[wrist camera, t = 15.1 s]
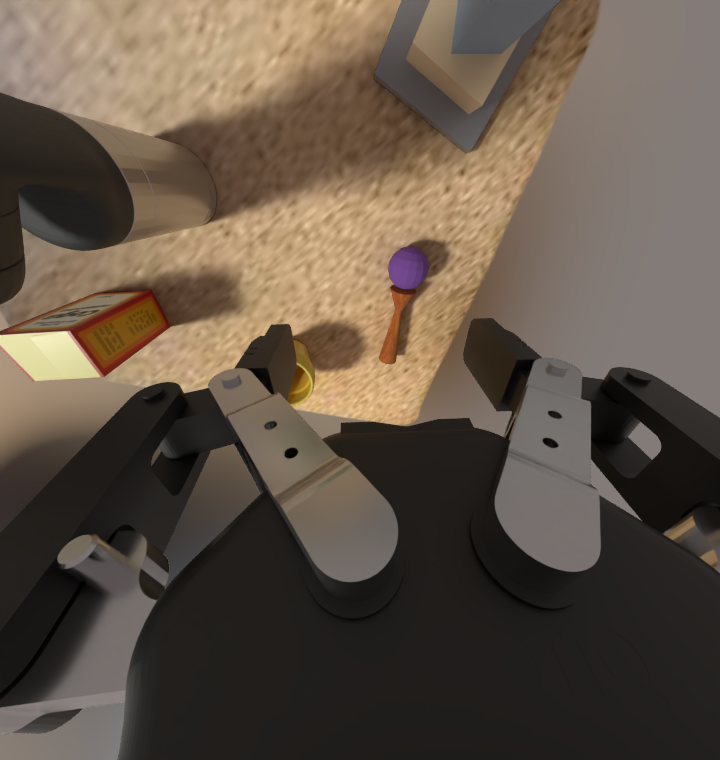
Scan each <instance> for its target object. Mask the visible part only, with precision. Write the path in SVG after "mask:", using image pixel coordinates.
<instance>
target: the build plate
mask: <svg viewBox="0 0 720 760" xmlns="http://www.w3.org/2000/svg"><path fill="white" fill-rule="evenodd" d="M457 3H458V0H402V1H401V4H400V6H399V9H398V12H397V14H396V17H395V20H394V22H393V25H392V28H391V30H390V33H389V36H388V38H387V41H386V43H385V46H384V49H383V51H382V54H381V57H380V59H379V62H378V65H377V67H376V70H375V73H374V77H373V79H375V80H376V81H377V82H378V83H380V84H381V85H382V86H383V87H384V88H386V89H387V90H388V91H389V92H391V93H392V94H393V95H394V96H396V97H397V98H398V99H399V100H400V101H402V102H403V103H404V104H405V105H407V106H408V107H409V108H410V109H412V110H413V111H414V112H415V113H417V114H418V115H419V116H420V117H421V118H423V119H424V120H425V121H426V122H428V123H429V124H430V125H431V126H433V127H434V128H435V129H436V130H437V131H439V132H440V133H441V134H442V135H444V136H445V137H446V138H447V139H449V140H450V141H451V142H452V143H453V144H455V145H456V146H457V147H458V148H460V149H461V150H462V151H463V152H465V153H469V152H471V150H472V148H473V146H474V145H475V143H476V141H477V140H478V138H479V136H480V134H481V133H482V131H483V129H484V128H485V126H486V124H487V122H488V121H489V119H490V117H491V116H492V114H493V112H494V110H495V109H496V107H497V105H498V104H499V102H500V100H501V98H502V97H503V95H504V93H505V92H506V90H507V88H508V86H509V85H510V83H511V81H512V80H513V78H514V76H515V74H516V73H517V71H518V69H519V68H520V66H521V64H522V62H523V61H524V59H525V57H526V56H527V54H528V52H529V50H530V49H531V47H532V45H533V44H534V42H535V40H536V38H537V37H538V35H539V33H540V32H541V30H542V28H543V26H544V25H545V23H546V21H547V20H548V18H549V16H550V14H551V13H552V11H553V9H554V8H555V6H556V5H555V6H554V7H553V8H552V9H550V10H549V11H548V12H547V13H546V14H545V15H544V16H543V17H542V18H541V19H539V20H538V21H537V22H536V23H535V24H534V25H533V26H532V27H531V28H530V29H528V30H527V31H526V32H525V33H524V34H523V35H522V36H521V37H520V38H518V39H517V40H516V41H515V42H514V43H513V44H512V45H511V46H510V47H509V48H507V49H506V50H505V51H504V52H503V53H502V54H451V51H452V43H453V35H454V27H455V19H456V11H457Z"/></svg>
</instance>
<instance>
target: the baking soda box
mask: <svg viewBox="0 0 720 760" xmlns="http://www.w3.org/2000/svg"><path fill="white" fill-rule="evenodd" d="M169 327H170V325H169V323H168V321H167V319H166V317H165V315H164V313H163V311H162V309H161V307H160V305H159V303H158V301H157V299H156V297H155V295H154V293H153V291H152V290H144V291H127V292H110V293H94V294H92V295H89V296H87V297H84V298H82V299H79V300H77V301H74V302H72V303H69V304H67V305H64V306H62V307H59V308H57V309H54V310H52V311H49V312H47V313H44V314H42V315H39V316H37V317H34V318H32V319H29V320H27V321H24V322H22V323H19V324H17V325H14V326H12V327H9V328H7V329H4V330H2V331H0V348H1V349H2V350H3V351H4V352H5V353H6V354H7V355H8V356H9V357H10V358H11V359H12V361H13V362H14V363H15V364H16V365H17V366H18V367H19V368H20V369H21V370H22V371H23V372H24V373H25V374H26V375H27V376H28V377H29V378H30V379H31V380H32V381H39V380H58V379H74V378H92V377H105V376H106V375H107V374H109V373H110V372H111V371H113V370H114V369H115V368H117V367H118V366H119V365H120V364H122V363H123V362H124V361H126V360H127V359H128V358H130V357H131V356H132V355H134V354H135V353H136V352H138V351H139V350H140V349H142V348H143V347H144V346H146V345H147V344H148V343H150V342H151V341H152V340H154V339H155V338H156V337H158V336H159V335H160V334H162V333H163V332H164V331H166V330H167V329H168V328H169Z"/></svg>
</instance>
